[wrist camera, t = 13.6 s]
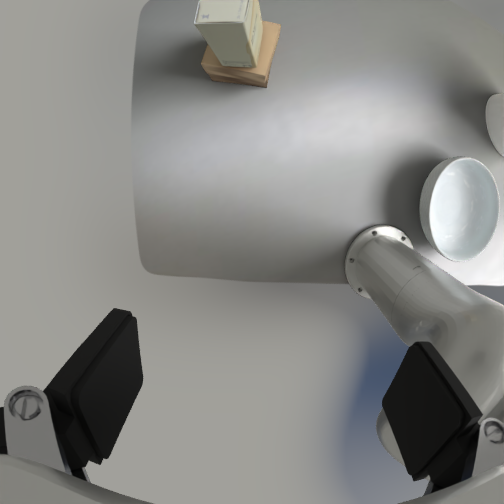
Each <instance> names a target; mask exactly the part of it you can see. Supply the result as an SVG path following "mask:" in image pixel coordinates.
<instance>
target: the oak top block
mask: <svg viewBox="0 0 504 504" xmlns="http://www.w3.org/2000/svg"><path fill="white" fill-rule="evenodd" d="M262 25H263V33H262V40H261V46H260V52H259V58H258V64H257V67H256V68H249V67H232V66H222V64H221V63H220V61H219V60H218V58H217V57H216V55H215V54H214V52H213V51H212V49H211V48H210V46H209V45H207V47H206V50H205V53H204V56H203V59H202V62H201V65H202V67H203V68H204V70H205V71H206V73H209V74H215V75H221V76H227V77H232V78H237V79H242V80H247V81H252V82H256V83H261V84H265V82H266V79H267V76H268V72H269V69H270V65H271V62H272V59H273V56H274V52H275V49H276V46H277V42H278V39H279V35H280V28H281V25H280V24H276V23H271V22H266V21H262Z"/></svg>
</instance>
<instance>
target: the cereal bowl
mask: <svg viewBox="0 0 504 504" xmlns="http://www.w3.org/2000/svg"><path fill="white" fill-rule="evenodd" d="M419 207H420V208H419V210H420V211H419V212H420V221H421V225H422V228H423V232H424V234H425V236H426V238H427V240H428V241H429V243H430V244H431V245H432V247H433V248H434V249H435V250H436V251H437V252H438V253H440V254H441V255H442V256H444V257H445V258H447V259H449V260H451V261H455V262H465V261H469V260H471V259H473V258H475V257H477V256H478V255H479V254H480V253H482V252H483V250H484V249H485V248H486V247H487V245H488V244H489V242H490V241H491V239H492V237H493V235H494V232H495V230H496V227H497V223H498V218H499V210H500V201H499V193H498V188H497V185H496V182H495V180H494V178H493V176H492V174H491V172H490V171H489V170H488V168H487V167H486V166H485V165H484V164H482V163H481V162H480V161H478V160H476V159H474V158H470V157H453V158H449V159H447V160H444V161H442V162H441V163H440V164H438V165H437V166H436V167H435V168H434V169H433V170H432V171H431V173H430V174H429V176H428V177H427V179H426V181H425V183H424V186H423V188H422V193H421V197H420V206H419Z"/></svg>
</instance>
